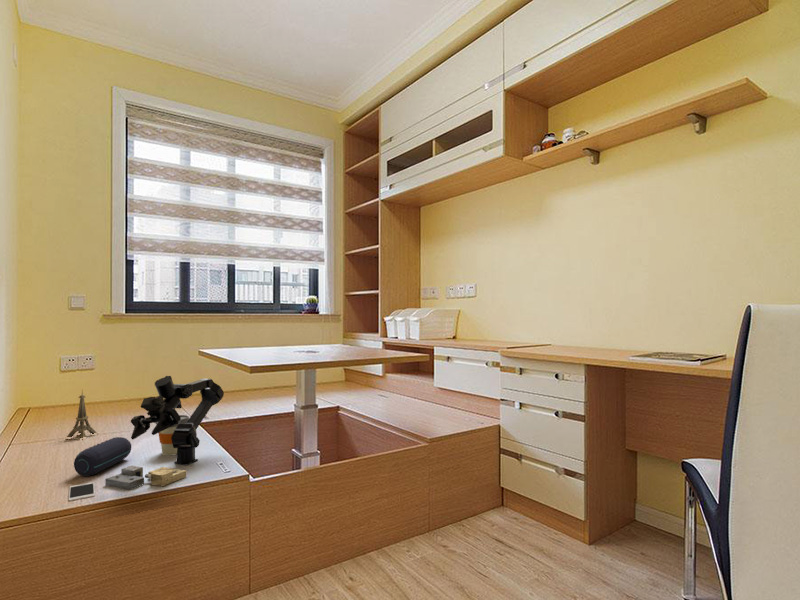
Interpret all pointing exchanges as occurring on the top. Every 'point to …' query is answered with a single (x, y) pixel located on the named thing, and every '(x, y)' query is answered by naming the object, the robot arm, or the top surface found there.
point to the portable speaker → (102, 456)
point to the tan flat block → (165, 476)
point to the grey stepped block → (127, 478)
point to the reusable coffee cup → (166, 437)
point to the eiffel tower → (81, 420)
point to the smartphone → (81, 491)
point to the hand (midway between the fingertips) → (142, 436)
